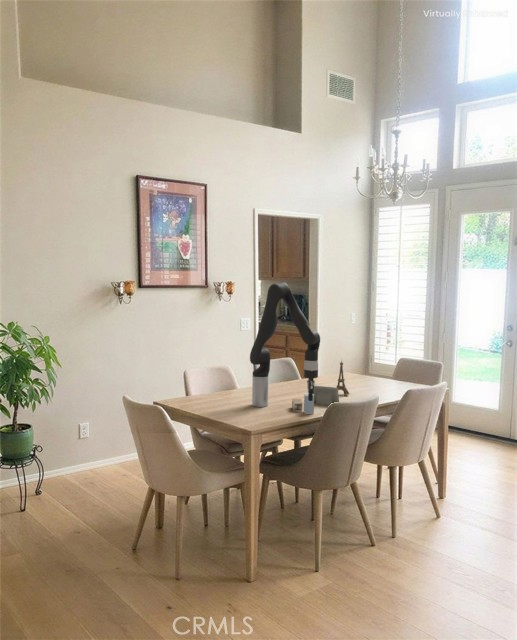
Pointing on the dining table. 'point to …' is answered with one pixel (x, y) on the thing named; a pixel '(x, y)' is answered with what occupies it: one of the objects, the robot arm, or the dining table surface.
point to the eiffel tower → (342, 381)
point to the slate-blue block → (308, 405)
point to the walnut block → (297, 405)
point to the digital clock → (325, 395)
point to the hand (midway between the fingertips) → (310, 400)
